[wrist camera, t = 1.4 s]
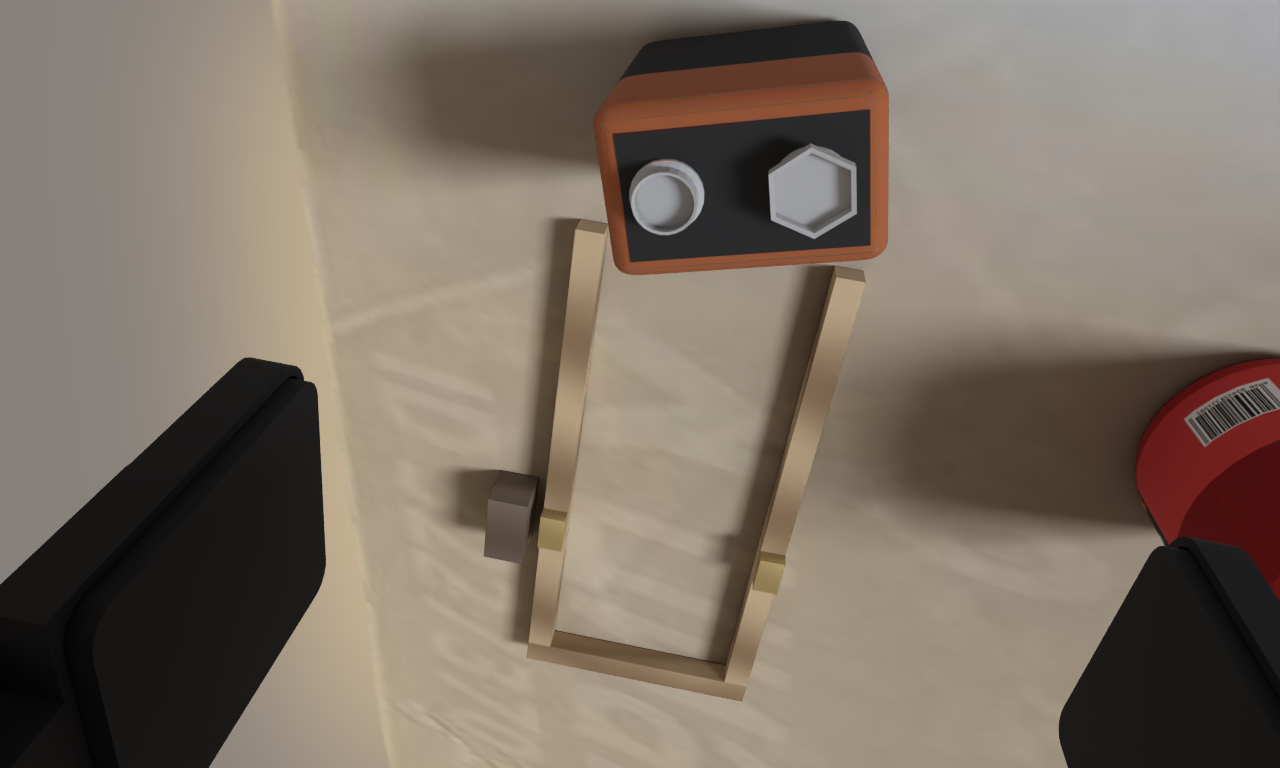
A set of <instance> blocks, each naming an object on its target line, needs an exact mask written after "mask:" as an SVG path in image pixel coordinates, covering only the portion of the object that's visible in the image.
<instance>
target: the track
mask: <svg viewBox="0 0 1280 768" xmlns="http://www.w3.org/2000/svg"><path fill="white" fill-rule="evenodd" d="M607 234H608V224H605V223H599V222H594V221H588V220H583V219H581V220H580V222H579V223H578V225H577V227H576V229H575V237H574V246H573V255H572V264H571V273H570V282H569V290H568V299H567V308H566V317H565V326H564V334H563V343H562V352H561V361H560V370H559V378H558V387H557V396H556V405H555V414H554V422H553V431H552V440H551V449H550V458H549V466H548V475H547V484H546V493H545V502H544V509H543V512H542V514H541V517H540V526H539V535H538V544H537V547H539V554H538V563H537V572H536V581H535V590H534V598H533V607H532V616H531V625H530V634H529V642H528V651H527V658H530V659H535V660H540V661H545V662H550V663H555V664H560V665H565V666H570V667H575V668H580V669H584V670H589V671H594V672H599V673H604V674H609V675H614V676H619V677H624V678H629V679H634V680H639V681H644V682H648V683H653V684H658V685H663V686H668V687H673V688H678V689H683V690H688V691H693V692H698V693H703V694H707V695H712V696H717V697H722V698H727V699H732V700H737V701H742V700H743V696H744V693H745V689H746V686H747V683H748V679H749V676H750V673H751V669H752V666H753V662H754V659H755V656H756V652H757V649H758V646H759V642H760V639H761V635H762V632H763V629H764V625H765V622H766V619H767V615H768V612H769V608H770V605H771V602H772V598H773V595H774V594H776V595H777V591H778V588H779V585H780V581H781V578H782V575H783V571H784V568H785V554H786V551H787V548H788V544H789V541H790V537H791V534H792V531H793V527H794V524H795V521H796V517H797V514H798V510H799V507H800V504H801V500H802V497H803V494H804V490H805V487H806V483H807V480H808V477H809V473H810V470H811V467H812V463H813V460H814V456H815V453H816V450H817V446H818V443H819V440H820V436H821V433H822V429H823V426H824V423H825V419H826V416H827V412H828V409H829V406H830V402H831V399H832V396H833V392H834V389H835V385H836V382H837V379H838V375H839V372H840V369H841V365H842V362H843V358H844V355H845V352H846V348H847V345H848V342H849V338H850V335H851V331H852V328H853V325H854V321H855V318H856V315H857V311H858V308H859V304H860V301H861V298H862V294H863V291H864V288H865V284H866V281H865V276H864V271H860V270H854V269H849V268H844V267H838V266H835V267H834V271H833V275H832V278H831V282H830V286H829V289H828V293H827V297H826V300H825V304H824V307H823V311H822V315H821V318H820V322H819V326H818V329H817V333H816V337H815V340H814V344H813V348H812V351H811V355H810V359H809V362H808V366H807V370H806V373H805V377H804V380H803V384H802V388H801V391H800V395H799V399H798V402H797V406H796V410H795V413H794V417H793V421H792V424H791V428H790V432H789V435H788V439H787V442H786V446H785V450H784V453H783V457H782V461H781V464H780V468H779V472H778V475H777V479H776V483H775V486H774V490H773V494H772V497H771V501H770V504H769V508H768V512H767V515H766V519H765V523H764V526H763V530H762V534H761V537H760V541H759V545H758V548H757V552H756V556H755V559H754V563H753V566H752V570H751V574H750V577H749V581H748V585H747V588H746V592H745V596H744V599H743V603H742V607H741V610H740V614H739V618H738V621H737V625H736V629H735V632H734V636H733V639H732V643H731V647H730V650H729V654H728V658H727V661H726V665H722V664H717V663H712V662H707V661H702V660H697V659H692V658H688V657H683V656H678V655H673V654H668V653H663V652H658V651H653V650H648V649H643V648H638V647H633V646H628V645H623V644H618V643H613V642H608V641H603V640H598V639H593V638H588V637H583V636H579V635H574V634H569V633H564V632H559V631H555V625H556V617H557V610H558V602H559V595H560V587H561V580H562V572H563V565H564V557H565V550H566V542H567V535H568V527H569V520H570V512H571V505H572V497H573V489H574V482H575V474H576V467H577V459H578V452H579V444H580V437H581V429H582V422H583V414H584V407H585V399H586V392H587V384H588V377H589V369H590V362H591V354H592V347H593V339H594V332H595V324H596V317H597V309H598V302H599V294H600V287H601V279H602V272H603V264H604V257H605V249H606V241H607ZM538 480H539V478H537V477H532V476H527V475H522V474H517V473H512V472H507V471H502V470H501V472H500V474H499V476H498V478H497V481H496V483H495V485H494V487H493V490H492V492H491V494H490V496H489V499H488V507H487V521H486V535H485V548H484V556H485V557H490V558H495V559H500V560H505V561H510V562H515V563H520V564H522V562H523V559H524V556H525V553H526V551H527V548H528V545H529V542H530V539H531V537H532V534H533V526H534V517H535V508H536V499H537V489H538Z"/></svg>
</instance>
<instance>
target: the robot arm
mask: <svg viewBox="0 0 1280 768" xmlns="http://www.w3.org/2000/svg"><path fill="white" fill-rule="evenodd" d="M325 566H326V555H325V535H324V514H323V494H322V474H321V455H320V434H319V413H318V395H317V389H316V387H315V385H314V384H313V383H312V382H307V381H304V377H303V374H302V372H301V370H300V369H299V368H298V367H297V366H292V365H286V364H282V363H276V362H271V361H266V360H260V359H255V358H244V359H242V360H241V361H239V362H238V363H237V364H236V365H235V366H234V367H233V368H231V369H230V370H229V371H228V372H227V373H226V374H225V375H224V376H223V377H222V378H221V379H220V380H219V381H218V382H217V383H215V384H214V385H213V386H212V387H211V388H210V389H209V390H208V391H207V392H206V393H205V394H204V395H203V396H202V397H201V398H200V399H198V400H197V401H196V402H195V403H194V404H193V405H192V406H191V407H190V408H189V409H188V410H187V411H186V412H185V413H184V414H183V415H182V416H180V417H179V418H178V419H177V420H176V421H175V422H174V423H173V424H172V425H171V426H170V427H169V428H168V429H167V430H166V431H165V432H163V433H162V434H161V435H160V436H159V437H158V438H157V439H156V440H155V441H154V442H153V443H152V444H151V445H150V446H149V447H148V448H147V449H145V450H144V451H143V452H142V453H141V454H140V455H139V456H138V457H137V458H136V459H135V460H134V461H133V462H132V463H131V464H129V465H128V466H126V467H125V468H124V469H123V470H122V471H121V472H120V473H119V474H118V475H116V476H115V477H114V478H113V479H112V480H111V481H110V482H109V483H108V484H107V485H106V486H105V487H104V488H103V489H102V490H100V491H99V492H98V493H97V494H96V495H95V496H94V497H93V498H92V499H91V500H90V501H89V502H88V503H87V504H86V505H85V506H83V508H81V509H80V510H79V511H78V512H77V513H76V514H75V515H74V516H73V517H72V518H71V519H70V520H69V521H68V522H66V523H65V524H64V525H63V526H62V527H61V528H60V529H59V530H58V531H57V532H56V533H55V534H54V535H53V536H52V537H51V538H49V539H48V540H47V541H46V542H45V543H44V544H43V545H42V546H41V547H40V548H39V549H38V550H37V551H36V552H35V553H33V554H32V555H31V556H30V557H29V558H28V559H27V560H26V561H25V562H24V563H23V564H22V565H21V566H20V567H19V568H18V569H17V570H15V572H13V573H12V574H11V575H10V576H9V577H8V578H7V579H6V580H5V581H4V582H3V583H2V584H0V768H209V766H210V765H211V763H212V761H213V760H214V758H215V756H216V755H217V753H218V751H219V750H220V749H221V747H222V745H223V744H224V742H225V740H226V739H227V737H228V735H229V734H230V732H231V731H232V729H233V728H234V726H235V724H236V723H237V721H238V720H239V718H240V716H241V715H242V713H243V711H244V710H245V708H246V707H247V705H248V704H249V702H250V700H251V699H252V697H253V696H254V694H255V692H256V691H257V689H258V687H259V686H260V684H261V683H262V681H263V679H264V678H265V676H266V675H267V673H268V671H269V670H270V668H271V667H272V665H273V663H274V662H275V660H276V658H277V657H278V655H279V654H280V652H281V651H282V649H283V647H284V646H285V644H286V642H287V641H288V639H289V638H290V636H291V634H292V633H293V631H294V630H295V628H296V626H297V625H298V623H299V622H300V620H301V618H302V617H303V615H304V614H305V612H306V610H307V609H308V607H309V605H310V604H311V602H312V601H313V599H314V597H315V596H316V594H317V592H318V590H319V588H320V586H321V583H322V580H323V576H324V572H325ZM1059 739H1060V743H1061V747H1062V750H1063V753H1064V756H1065V759H1066V763H1067V766H1068V768H1280V601H1279V599H1278V598H1277V596H1276V595H1275V593H1274V592H1273V590H1272V589H1271V587H1270V586H1269V584H1268V583H1267V581H1266V580H1265V578H1264V577H1263V575H1262V574H1261V572H1260V571H1259V569H1258V568H1257V566H1256V565H1255V563H1254V562H1253V560H1252V559H1251V557H1250V556H1249V555H1248V554H1247V553H1246V552H1245V551H1244V550H1243V549H1242V548H1239V547H1237V546H1233V545H1228V544H1223V543H1218V542H1212V541H1207V540H1202V539H1197V538H1191V537H1186V536H1184V537H1178V538H1177V539H1175V540H1174V541H1172V542H1171V543H1170V545H1169V546H1168V547H1167V546H1159V547H1157V548H1156V549H1155V550H1153V552H1152V553H1151V554H1150V556H1149V558H1148V559H1147V561H1146V563H1145V565H1144V566H1143V568H1142V570H1141V572H1140V573H1139V575H1138V577H1137V579H1136V580H1135V582H1134V584H1133V586H1132V588H1131V589H1130V591H1129V593H1128V595H1127V596H1126V598H1125V600H1124V602H1123V603H1122V605H1121V607H1120V609H1119V610H1118V612H1117V614H1116V616H1115V618H1114V619H1113V621H1112V623H1111V625H1110V626H1109V628H1108V630H1107V632H1106V633H1105V635H1104V637H1103V639H1102V640H1101V642H1100V644H1099V646H1098V648H1097V649H1096V651H1095V653H1094V655H1093V656H1092V658H1091V660H1090V662H1089V663H1088V665H1087V667H1086V669H1085V670H1084V672H1083V674H1082V676H1081V678H1080V679H1079V681H1078V683H1077V685H1076V686H1075V688H1074V690H1073V692H1072V693H1071V695H1070V697H1069V699H1068V701H1067V702H1066V704H1065V706H1064V708H1063V710H1062V712H1061V716H1060V721H1059Z"/></svg>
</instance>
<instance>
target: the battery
mask: <svg viewBox="0 0 1280 768" xmlns="http://www.w3.org/2000/svg"><path fill="white" fill-rule="evenodd" d="M594 131H595V138H596V145H597V152H598V158H599V165H600V172H601V179H602V185H603V192H604V199H605V206H606V212H607V219H608V226H609V233H610V239H611V246H612V253H613V259H614V263H615V265H616V267H617V268H618V269H619V270H620V271H622V272H623V273H626V274H630V275H647V274H664V273H679V272H693V271H708V270H723V269H738V268H753V267H768V266H783V265H797V264H812V263H827V262H842V261H855V260H866V259H871V258H874V257H877V256H878V255H880V254H881V253H882V252H883V251H884V249H885V248H886V246H887V242H888V158H889V95H888V90H887V87H886V85H885V83H884V81H883V79H882V77H881V75H880V73H879V71H878V69H877V67H876V65H875V63H874V61H873V59H872V57H871V55H870V53H869V51H868V49H867V47H866V44H865V42H864V40H863V38H862V36H861V34H860V32H859V31H858V29H857V28H856V26H855V25H853V24H852V23H850V22H847V21H835V22H825V23H816V24H807V25H798V26H789V27H780V28H771V29H762V30H753V31H744V32H735V33H726V34H717V35H708V36H699V37H690V38H681V39H672V40H664V41H657V42H652V43H649V44H647V45H645V46H644V47H643V48H642V49H641V50H640V52H639V53H638V54H637V56H636V57H635V59H634V60H633V62H632V63H631V64H630V66H629V67H628V69H627V70H626V72H625V73H624V74H623V76H622V77H621V79H620V80H619V82H618V83H617V84H616V86H615V87H614V89H613V90H612V91H611V93H610V94H609V96H608V97H607V99H606V100H605V101H604V103H603V104H602V106H601V107H600V109H599V110H598V112H597V113H596V115H595V118H594Z"/></svg>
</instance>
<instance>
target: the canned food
mask: <svg viewBox="0 0 1280 768" xmlns="http://www.w3.org/2000/svg"><path fill="white" fill-rule="evenodd" d="M1136 485H1137V489H1138V494H1139V498H1140V501H1141V503H1142V505H1143V507H1144V509H1145V511H1146V513H1147V514H1148V516H1149V518H1150V520H1151V522H1152V523H1153V525H1154V527H1155V529H1156V530H1157V532H1158V534H1159V536H1160V538H1161V539H1162V541H1163V543H1164V545H1165V546H1167V547H1168V546H1169V545H1170V543H1171V542H1172V541H1174V540H1175V539H1177V538H1178V537H1184V536H1186V537H1191V538H1197V539H1202V540H1207V541H1212V542H1218V543H1223V544H1228V545H1233V546H1237V547H1239V548H1242V549H1243V550H1244V551H1245V552H1246V553H1247V554H1248V555H1249V556H1250V557H1251V559H1252V560H1253V562H1254V563H1255V565H1256V566H1257V568H1258V569H1259V571H1260V572H1261V574H1262V575H1263V577H1264V578H1265V580H1266V581H1267V583H1268V584H1269V586H1270V587H1271V589H1272V590H1273V592H1274V593H1275V595H1276V596H1277V598H1278V599H1279V601H1280V359H1261V360H1254V361H1248V362H1242V363H1239V364H1236V365H1232V366H1229V367H1226V368H1222V369H1220V370H1218V371H1215V372H1213V373H1211V374H1209V375H1207V376H1205V377H1202V378H1200V379H1198V380H1197V381H1195V382H1194V383H1192V384H1191V385H1189V386H1188V387H1186V388H1185V389H1183V390H1181V391H1180V392H1179V393H1178V394H1177V395H1175V396H1174V397H1173V398H1172V399H1171V400H1170V401H1169V402H1167V403H1166V404H1165V405H1164V406H1163V407H1162V408H1161V410H1160V411H1159V412H1158V413H1157V415H1156V416H1155V417H1154V418H1153V419H1152V421H1151V422H1150V424H1149V426H1148V428H1147V429H1146V431H1145V433H1144V435H1143V437H1142V439H1141V442H1140V445H1139V449H1138V452H1137V459H1136Z"/></svg>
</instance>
